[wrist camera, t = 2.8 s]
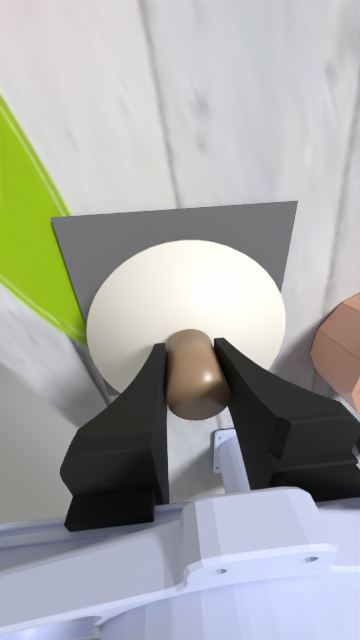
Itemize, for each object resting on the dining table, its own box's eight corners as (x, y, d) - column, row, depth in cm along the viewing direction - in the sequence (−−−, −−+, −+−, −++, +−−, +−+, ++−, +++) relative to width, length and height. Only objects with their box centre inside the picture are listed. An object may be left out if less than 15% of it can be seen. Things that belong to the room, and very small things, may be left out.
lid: (265, 394, 17) (302, 459, 12) (114, 410, 17) (95, 483, 12) (297, 230, 11) (394, 240, 6) (61, 248, 11) (-18, 273, 6)
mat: (262, 377, 21) (264, 380, 20) (110, 392, 20) (109, 395, 20) (294, 201, 13) (298, 200, 13) (53, 217, 13) (50, 217, 12)
